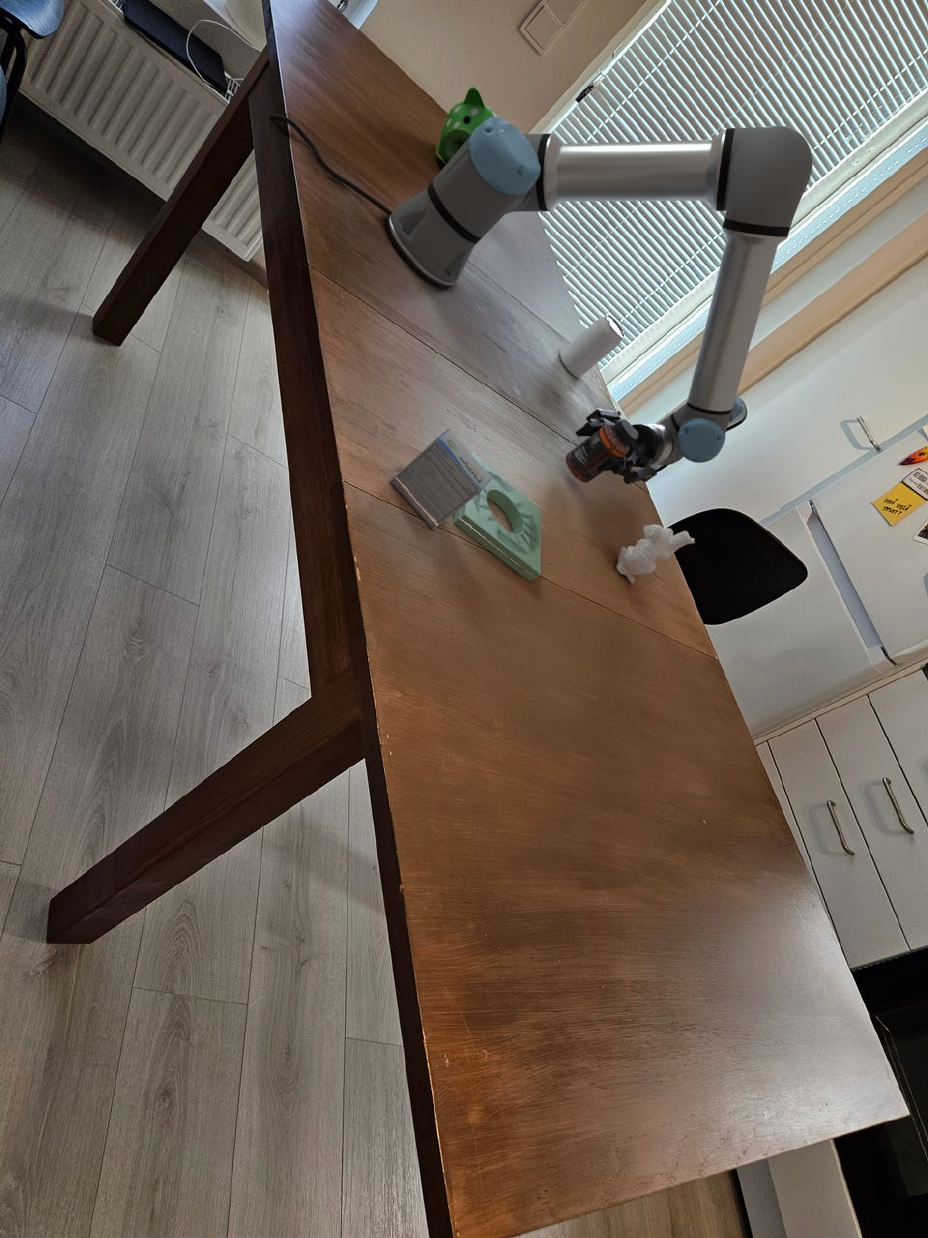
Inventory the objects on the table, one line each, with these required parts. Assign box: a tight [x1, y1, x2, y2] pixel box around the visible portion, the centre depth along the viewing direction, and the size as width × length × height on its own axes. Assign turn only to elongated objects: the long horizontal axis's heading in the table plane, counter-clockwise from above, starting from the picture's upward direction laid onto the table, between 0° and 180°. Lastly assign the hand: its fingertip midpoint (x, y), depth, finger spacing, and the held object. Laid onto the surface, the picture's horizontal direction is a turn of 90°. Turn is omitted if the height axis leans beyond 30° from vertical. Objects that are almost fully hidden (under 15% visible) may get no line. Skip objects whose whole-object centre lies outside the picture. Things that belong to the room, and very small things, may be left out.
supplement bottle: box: [565, 418, 637, 484], centre depth 130 cm, size 6×6×11 cm
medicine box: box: [390, 428, 491, 531], centre depth 95 cm, size 8×4×9 cm, turn 65°
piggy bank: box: [433, 86, 498, 165], centre depth 166 cm, size 14×18×15 cm
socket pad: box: [453, 450, 542, 583], centre depth 108 cm, size 14×14×2 cm
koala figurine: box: [616, 524, 696, 584], centre depth 128 cm, size 8×7×12 cm
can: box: [559, 313, 626, 378], centre depth 159 cm, size 6×6×12 cm
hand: (593, 446), depth 125 cm, fingers closed on supplement bottle, 6 cm apart
